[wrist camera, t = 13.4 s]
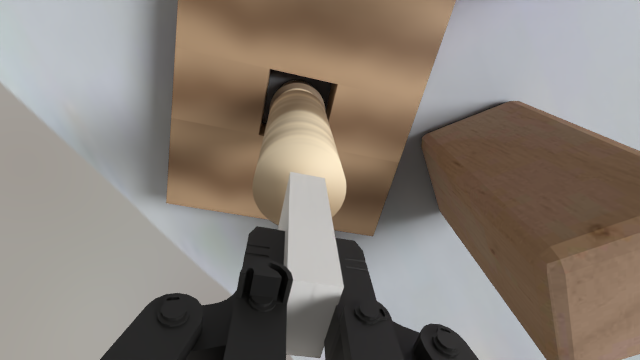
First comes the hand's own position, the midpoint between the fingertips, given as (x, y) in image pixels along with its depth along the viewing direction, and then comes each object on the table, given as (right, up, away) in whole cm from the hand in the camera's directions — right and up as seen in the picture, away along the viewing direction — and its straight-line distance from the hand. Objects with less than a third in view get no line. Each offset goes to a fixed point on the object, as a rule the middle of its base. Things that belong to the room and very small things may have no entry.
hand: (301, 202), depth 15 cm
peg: (-1, +8, +17) cm, 19 cm away
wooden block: (+17, +3, +21) cm, 27 cm away
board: (-1, +8, +17) cm, 19 cm away
